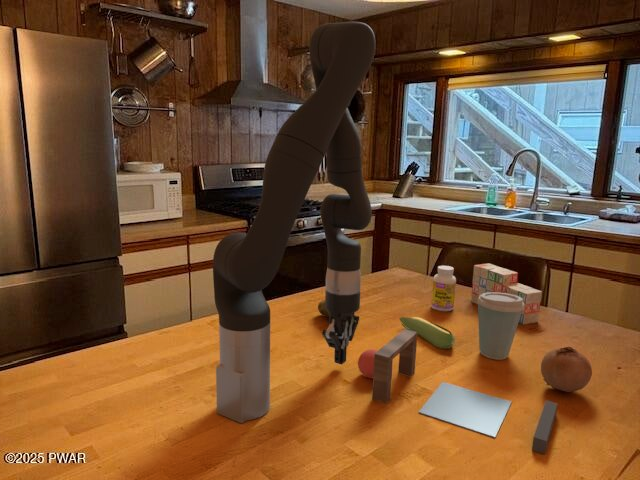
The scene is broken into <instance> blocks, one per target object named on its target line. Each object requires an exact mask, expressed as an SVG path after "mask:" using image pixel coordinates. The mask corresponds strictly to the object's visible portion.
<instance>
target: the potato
mask: <svg viewBox="0 0 640 480" xmlns="http://www.w3.org/2000/svg"><path fill="white" fill-rule="evenodd" d="M317 309H318V312H319V313H320V314H321V315H322V317H323V316H324V317H326V318H328V319H329V318H330V312H329V311H328V310H327V309H326V308H325V299H324V300H322V301H320V302H318V306H317Z"/></svg>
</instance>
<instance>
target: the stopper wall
mask: <svg viewBox="0 0 640 480" xmlns="http://www.w3.org/2000/svg"><path fill="white" fill-rule="evenodd" d="M557 408H558V403H557V402H554V401H550V400H545V402H544V405H543V409H542V411H541V414H540V416H539V420H538V423H537V426H536V429H535V432H534V434H533V438H532V439H533V440H532V446H531V451H533V452H536V453H539V454H542V455H546V451H547V447H548V444H549V442H550V441H549V440H550V436H551V432H552V431H553V427H554V423H555V420H556V416H557V410H558V409H557Z"/></svg>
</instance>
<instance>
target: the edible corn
mask: <svg viewBox="0 0 640 480" xmlns="http://www.w3.org/2000/svg"><path fill="white" fill-rule="evenodd" d="M399 321H400V322H401V324H402V326H404V327H405V329H407V330H411V331H415V332H418V333H417V336H419V337H420V338H423V339H424V340H425V341H427V342H428V343H429V344H431V345H433V346H434V347H437V349H443V350H445V349H449V348H452V347H454V346H455V345H456V338H455V335H454V334H453V333H452V332H451V331H450V330H449V329H447V328H445V327H443V326H441V325H438V324H436V323H434V322H431V321H429V320H427V319H424V318H422V317H419V316H413V317H408V316H407V317H406V316H402V317H399Z"/></svg>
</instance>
